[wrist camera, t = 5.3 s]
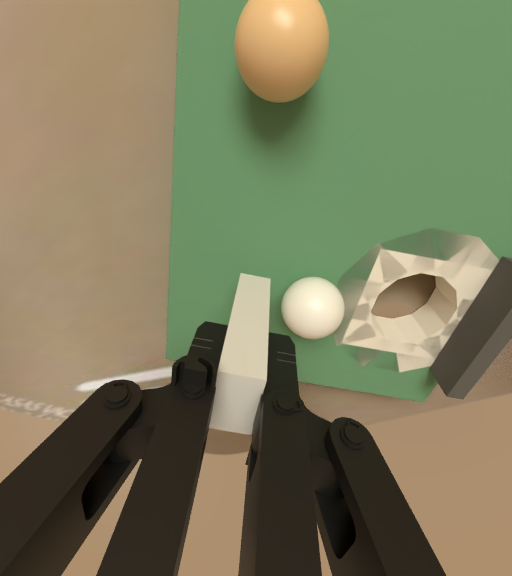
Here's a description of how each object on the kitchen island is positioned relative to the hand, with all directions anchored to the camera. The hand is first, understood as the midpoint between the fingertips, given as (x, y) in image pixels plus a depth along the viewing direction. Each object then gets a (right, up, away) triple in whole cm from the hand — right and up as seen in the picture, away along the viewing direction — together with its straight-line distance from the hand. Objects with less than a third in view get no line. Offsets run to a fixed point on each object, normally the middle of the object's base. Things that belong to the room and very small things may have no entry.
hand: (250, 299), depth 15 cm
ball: (+3, 0, 0) cm, 3 cm away
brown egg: (+1, +9, -5) cm, 10 cm away
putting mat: (+5, +4, +2) cm, 7 cm away
